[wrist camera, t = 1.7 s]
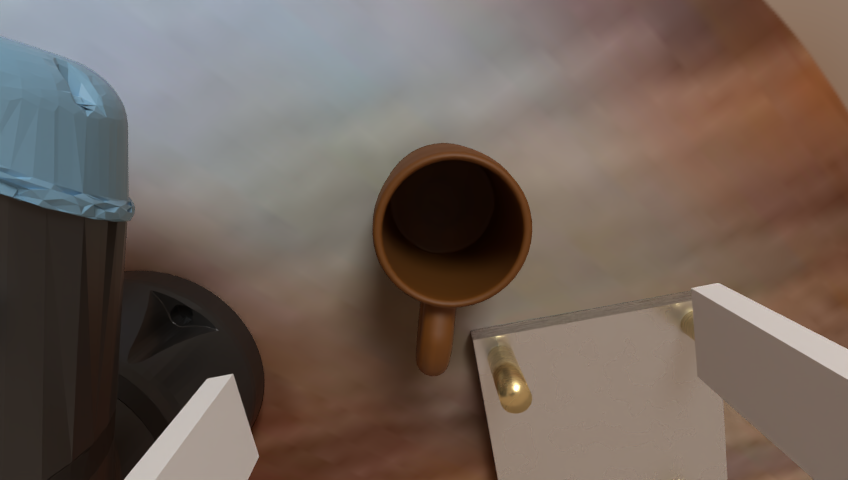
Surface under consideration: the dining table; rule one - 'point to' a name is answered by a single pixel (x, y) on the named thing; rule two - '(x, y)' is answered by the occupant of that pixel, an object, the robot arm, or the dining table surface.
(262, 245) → the dining table surface
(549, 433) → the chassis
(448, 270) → the mug
